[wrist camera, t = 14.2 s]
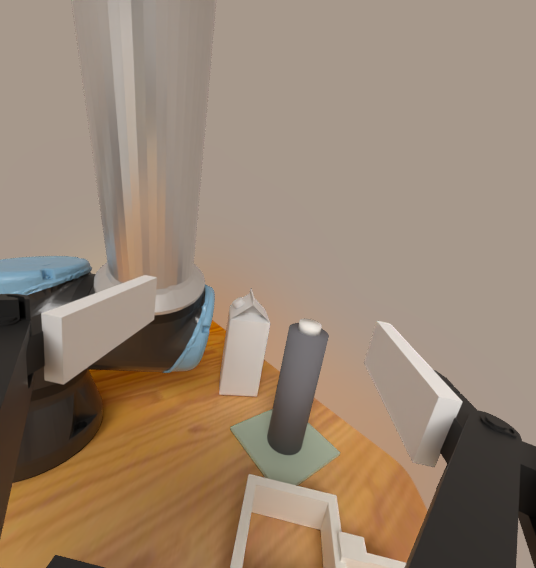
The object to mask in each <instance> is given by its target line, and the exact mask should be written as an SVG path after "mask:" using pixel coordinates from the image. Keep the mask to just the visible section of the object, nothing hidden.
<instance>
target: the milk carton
mask: <svg viewBox="0 0 536 568" xmlns="http://www.w3.org/2000/svg"><path fill="white" fill-rule="evenodd" d="M269 329H270V321H269V318H268V316H267V313H266V310H265V309H264V308H263V307H262V305H261V304H260V303H259V302H258V301H257V300H256V299H255V298H254V295H253V292H252V288H251V289H250V293H249V294H248V295H246V296H245V297H243V298H242V297H240V298H238V299H236V300H235V301H233V303H232V305H230V309H229V316H228V323H227V330H226V337H225V344H224V351H223V358H222V365H221V372H220V386H219V395H236V396H257V394H258V389H259V383H260V378H261V372H262V367H263V361H264V356H265V350H266V345H267V340H268V334H269Z"/></svg>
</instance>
